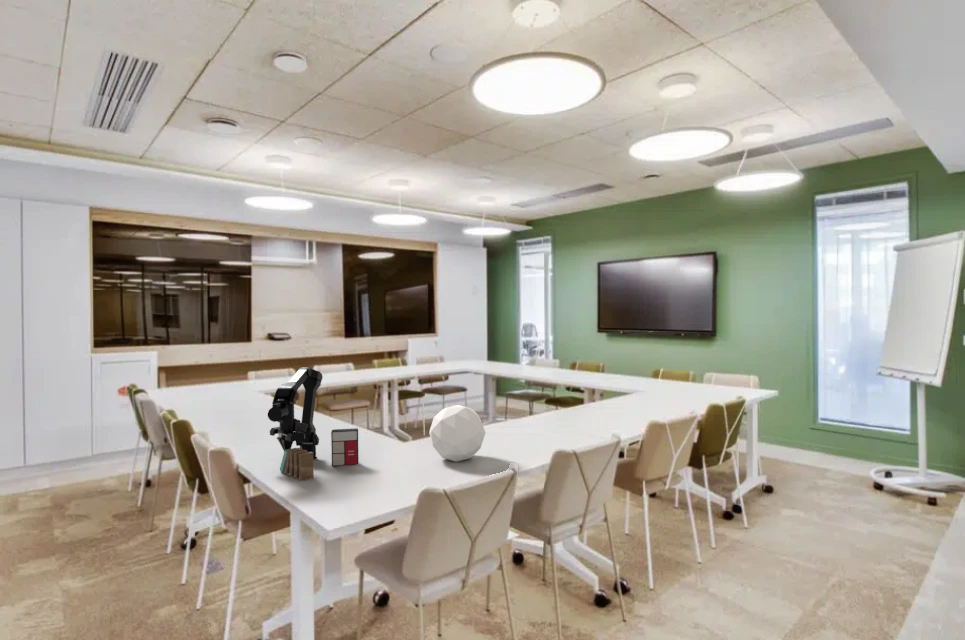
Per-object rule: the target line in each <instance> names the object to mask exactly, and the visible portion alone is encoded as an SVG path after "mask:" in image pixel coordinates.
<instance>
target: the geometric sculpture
mask: <svg viewBox="0 0 965 640" xmlns="http://www.w3.org/2000/svg"><path fill="white" fill-rule="evenodd" d="M428 433H429V437H430V440H431V445H432V447H433V448H434V449H435V450H436V452H437V454H438V455H439V456H440V457H441V458H442V459H445V460H449V461H452V462H456V463H458V462H462V461H465V460H468V459H472V458H473V457H474V455H476V453H478V452H479V451H480V449H481V448H482V445H483V442H484V438H485V437H486V430H485V427H484V425H483V423H482V420H481V417H480V416H479V414H478V413H477V412H476V411H475V409H474V408H471V407H468V406H464V405H460V404H454V405H451V406H447V407H445V408H443V409H441V410H440V411H439V412H438V413H437V414H436V415H434V416H433V418H432V423H431V425H430V428H429V432H428Z"/></svg>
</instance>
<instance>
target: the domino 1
mask: <svg viewBox="0 0 965 640" xmlns="http://www.w3.org/2000/svg"><path fill="white" fill-rule="evenodd" d="M295 448H296V447H291V449H295ZM287 450H290V449H287ZM287 450H285V451H284V450H283V455H282V459H281V463H280V467H279V471H280V472H281V473H282V472H283V473H284V471H285V464H286V457H287Z"/></svg>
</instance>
